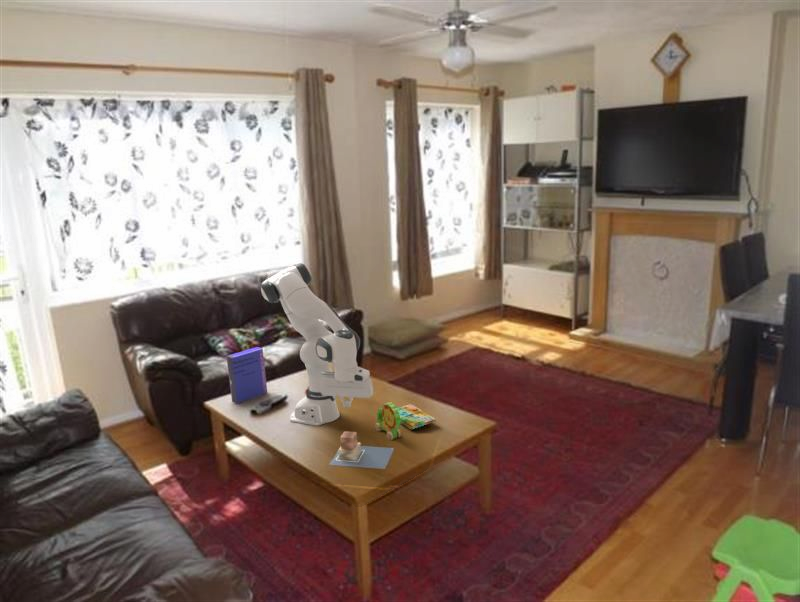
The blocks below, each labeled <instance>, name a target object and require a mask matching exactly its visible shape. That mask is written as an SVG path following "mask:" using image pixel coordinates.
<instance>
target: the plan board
mask: <svg viewBox="0 0 800 602" xmlns="http://www.w3.org/2000/svg"><path fill="white" fill-rule="evenodd" d="M394 450H395V447H382V446H367V445H361V453H360V455H359V457H358V458H357V460H342V459H339V453H338V451H337V452H336V453H335V455H334V456H333V458H332V459H331V460H330V463H329V464H328V465H329V466H338V467H339V466H341V467H354V468H369V469H379V470H380V469H381V470H385V469H386V468H387V467H388V463H389V461H390V460H391V457H392V455H393V452H394Z"/></svg>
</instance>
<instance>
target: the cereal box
mask: <svg viewBox="0 0 800 602" xmlns="http://www.w3.org/2000/svg"><path fill="white" fill-rule="evenodd" d="M226 363H227V371H228V372H227V373H228V380H229V389H230V396H231V402H232V403H234V404H241V403H244V402H246V401H248V400H252V399H255V398H257V397H260V396H263V395H265V394H268V389H267V388H268V387H267V385H268V384H267V376H266V368H265V367H266V366H265V357H264V350H263V348H262V347H259V346H255V347H253V348H249V349H246V350H242V351H240V352H236V353H234V354H233V353H232V354H229V355H226Z"/></svg>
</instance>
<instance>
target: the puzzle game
mask: <svg viewBox="0 0 800 602" xmlns="http://www.w3.org/2000/svg"><path fill="white" fill-rule="evenodd" d="M396 408H397V410H398V412H399V415H400V425H402V426H404V425H405V426H404V427H405V428H407V429H408V430H410V431H412V429H413V430H415V428H416V429H419V428H421V426H422V427H424V425H425V426H427V424H428V425H430V424H433V423H436V422H437V419H436V418H434V417H433V416H431V415H430V414H428V413H427V412H425V411H423V410H422V409H420V408H419V407H417V406H415V405H414V404H413V403H410V404H407V405H403V406H399V407H396ZM418 427H419V428H418Z"/></svg>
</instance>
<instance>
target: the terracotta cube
mask: <svg viewBox="0 0 800 602" xmlns="http://www.w3.org/2000/svg"><path fill="white" fill-rule="evenodd" d="M357 433H358V432H357V431H346V430H345V431H343V433H342V434H341V436H340V437H339V438H340V446H341V449H348V450H354V448H355V447H356V445H357V442H358V434H357Z"/></svg>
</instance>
